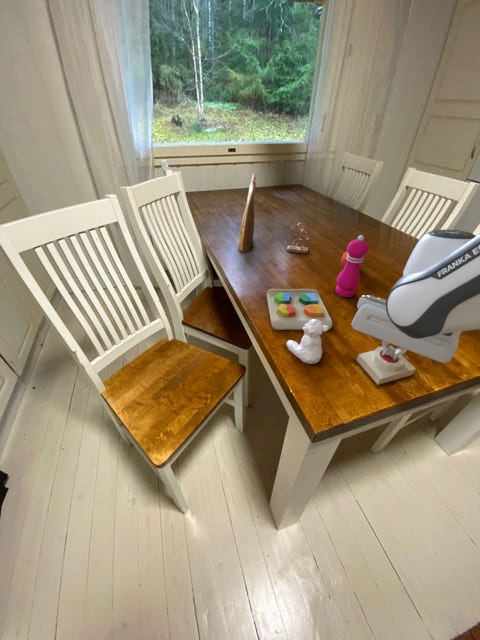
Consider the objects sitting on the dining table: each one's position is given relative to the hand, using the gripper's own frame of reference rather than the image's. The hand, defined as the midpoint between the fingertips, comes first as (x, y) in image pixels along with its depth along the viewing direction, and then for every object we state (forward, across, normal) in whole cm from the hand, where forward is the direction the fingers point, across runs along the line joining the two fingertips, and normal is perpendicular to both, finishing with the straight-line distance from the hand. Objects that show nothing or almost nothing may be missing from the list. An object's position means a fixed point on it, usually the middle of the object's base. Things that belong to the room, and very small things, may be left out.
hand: (388, 355), depth 64 cm
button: (+2, 0, 0) cm, 2 cm away
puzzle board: (+4, -28, +9) cm, 29 cm away
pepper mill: (+4, -19, +28) cm, 34 cm away
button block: (+4, 0, 0) cm, 4 cm away
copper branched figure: (+4, -47, +49) cm, 68 cm away
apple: (+4, -23, +46) cm, 52 cm away
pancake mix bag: (+4, -68, +41) cm, 79 cm away
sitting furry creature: (+4, -17, -7) cm, 19 cm away
